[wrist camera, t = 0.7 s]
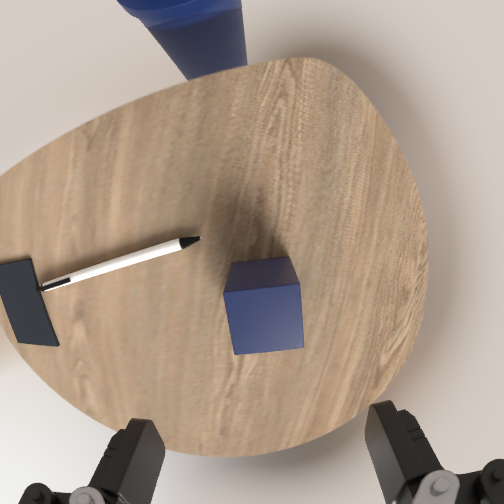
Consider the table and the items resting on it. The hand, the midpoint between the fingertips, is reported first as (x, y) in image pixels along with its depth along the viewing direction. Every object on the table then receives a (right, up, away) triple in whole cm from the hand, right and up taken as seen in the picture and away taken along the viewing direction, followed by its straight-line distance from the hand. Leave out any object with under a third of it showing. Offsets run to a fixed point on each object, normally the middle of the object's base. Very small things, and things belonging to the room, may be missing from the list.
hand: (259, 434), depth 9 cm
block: (+1, +4, +14) cm, 15 cm away
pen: (-13, +5, +14) cm, 20 cm away
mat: (-26, +1, +16) cm, 30 cm away
